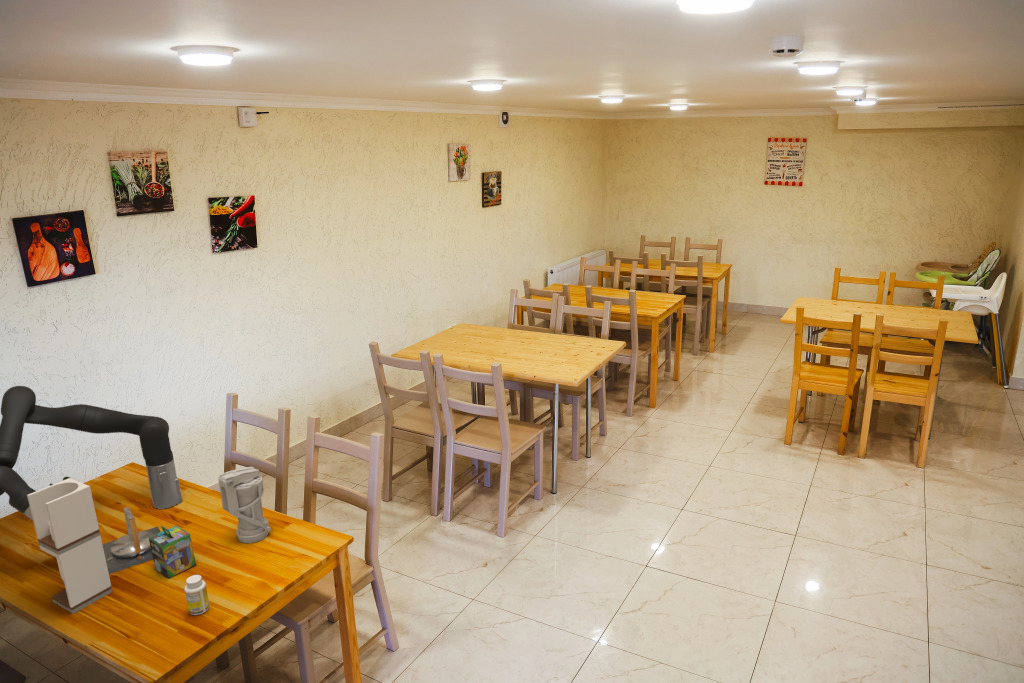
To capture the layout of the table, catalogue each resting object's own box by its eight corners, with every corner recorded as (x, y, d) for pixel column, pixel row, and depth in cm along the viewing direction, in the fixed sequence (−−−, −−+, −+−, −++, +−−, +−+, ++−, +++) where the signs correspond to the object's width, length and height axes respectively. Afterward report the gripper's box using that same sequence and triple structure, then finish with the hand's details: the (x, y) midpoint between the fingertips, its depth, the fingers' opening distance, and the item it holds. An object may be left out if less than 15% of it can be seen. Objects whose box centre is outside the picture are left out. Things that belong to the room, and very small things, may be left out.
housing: (158, 530, 237) (157, 525, 237) (171, 552, 224) (170, 548, 223) (99, 549, 227) (98, 544, 226) (109, 574, 213) (108, 569, 213)
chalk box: (196, 565, 217) (189, 524, 213) (168, 579, 210) (160, 537, 206) (182, 555, 222) (175, 514, 218) (153, 569, 215) (145, 527, 211)
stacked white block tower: (92, 581, 210) (69, 478, 200) (112, 591, 205) (89, 486, 195) (53, 602, 200) (27, 495, 191) (73, 613, 195) (47, 504, 185)
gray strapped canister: (259, 524, 240) (250, 458, 233) (275, 534, 233) (266, 467, 226) (224, 539, 230) (213, 472, 224) (239, 551, 224) (229, 482, 217)
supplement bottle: (204, 600, 199) (198, 570, 197) (213, 608, 196) (208, 577, 193) (185, 610, 195) (179, 579, 192) (194, 618, 192) (188, 587, 189)
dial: (108, 544, 226) (100, 508, 222) (151, 530, 233) (144, 495, 230) (116, 564, 215) (108, 526, 211) (161, 549, 223) (154, 512, 219)
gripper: (49, 510, 220) (97, 540, 224) (26, 532, 207) (77, 563, 212) (64, 493, 219) (111, 524, 223) (41, 515, 206) (92, 547, 211)
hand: (95, 543), depth 218 cm, fingers closed
